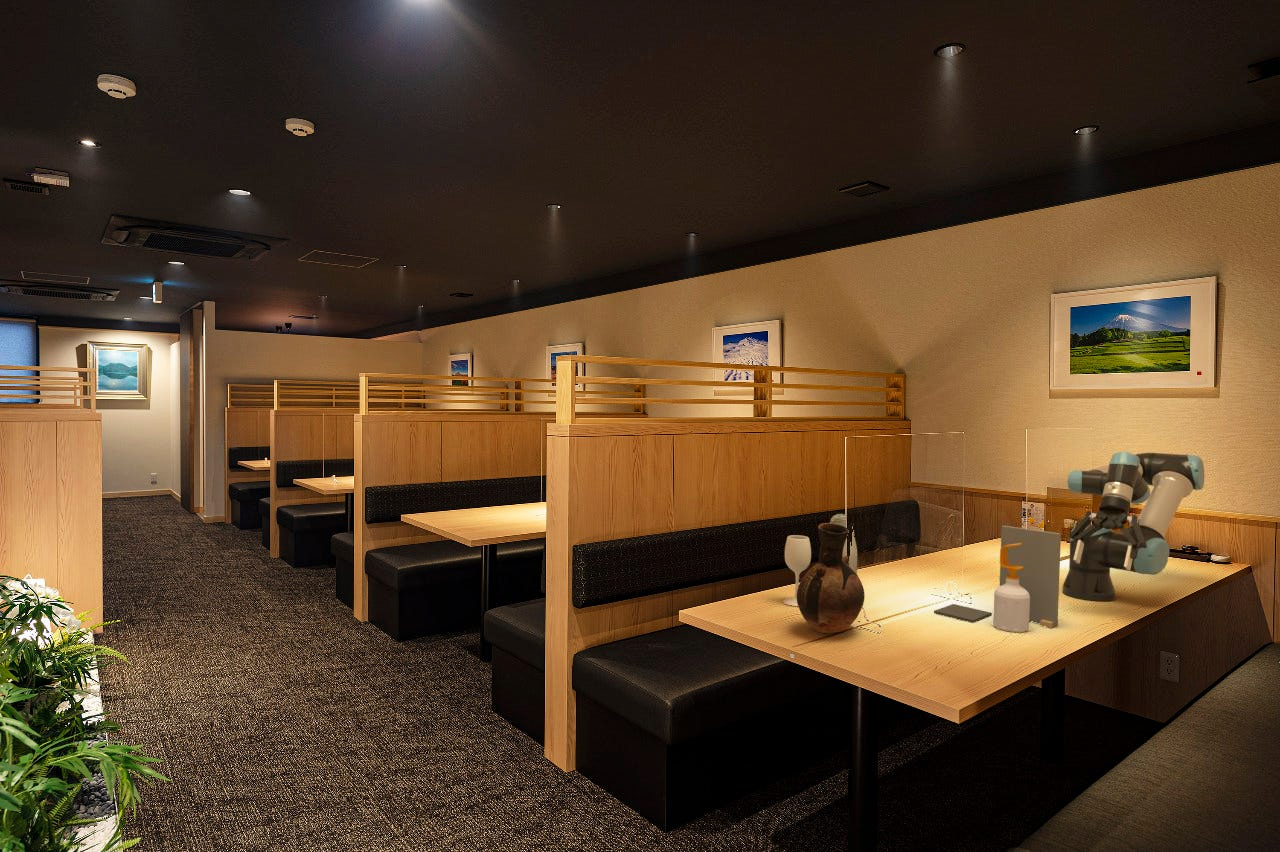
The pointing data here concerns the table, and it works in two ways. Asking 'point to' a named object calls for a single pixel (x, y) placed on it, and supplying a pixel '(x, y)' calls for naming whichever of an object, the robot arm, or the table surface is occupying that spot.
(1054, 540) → the divider
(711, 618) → the table surface
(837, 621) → the ceramic vessel
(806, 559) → the wineglass
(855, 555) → the glass bottle
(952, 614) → the coaster
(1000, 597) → the soap bottle
